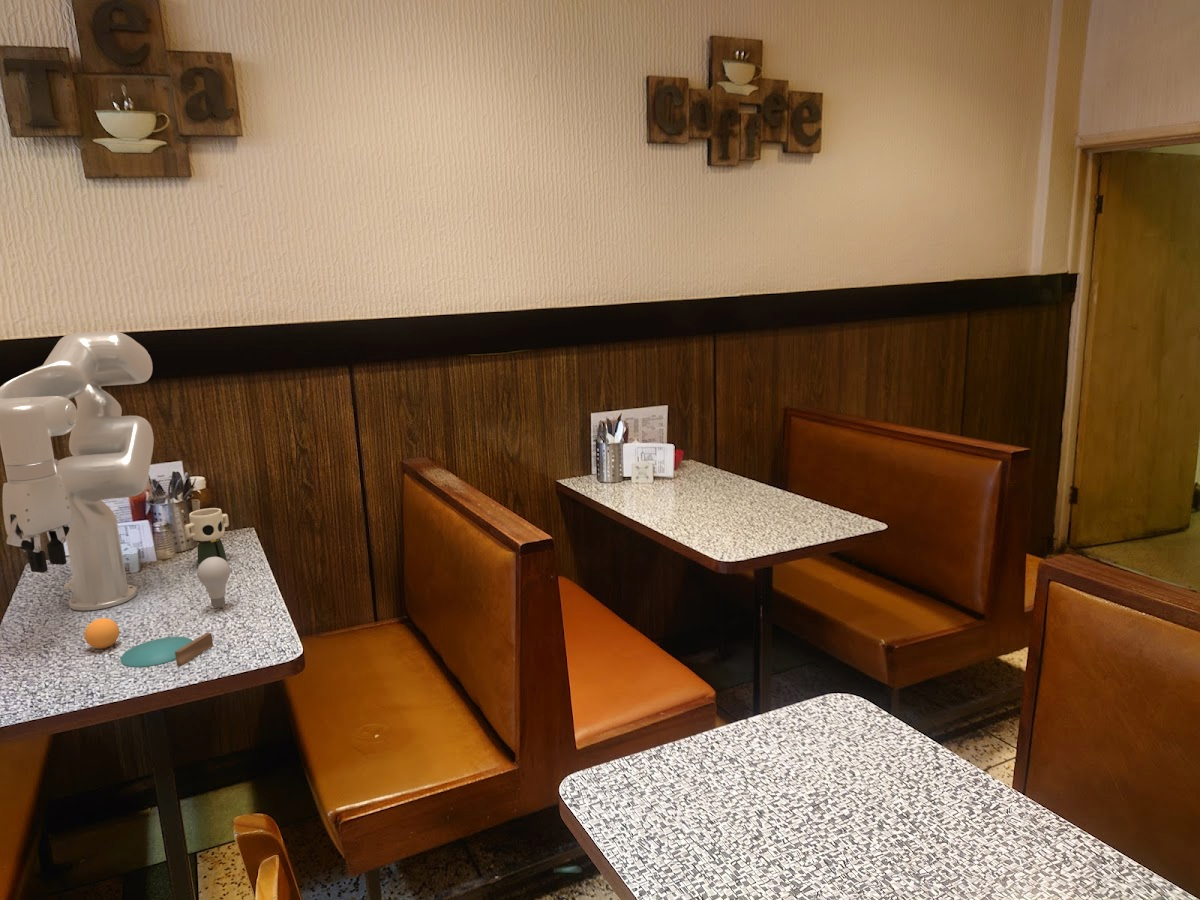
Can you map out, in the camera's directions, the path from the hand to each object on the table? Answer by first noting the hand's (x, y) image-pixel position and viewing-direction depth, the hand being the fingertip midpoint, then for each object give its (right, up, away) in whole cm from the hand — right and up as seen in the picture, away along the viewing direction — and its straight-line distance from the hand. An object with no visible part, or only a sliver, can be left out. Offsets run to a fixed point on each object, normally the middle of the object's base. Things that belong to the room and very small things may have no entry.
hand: (49, 566), depth 153 cm
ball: (+10, -12, 0) cm, 16 cm away
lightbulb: (+23, -11, +17) cm, 31 cm away
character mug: (+9, -6, +45) cm, 47 cm away
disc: (+21, -15, -2) cm, 26 cm away
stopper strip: (+29, -15, -4) cm, 33 cm away
